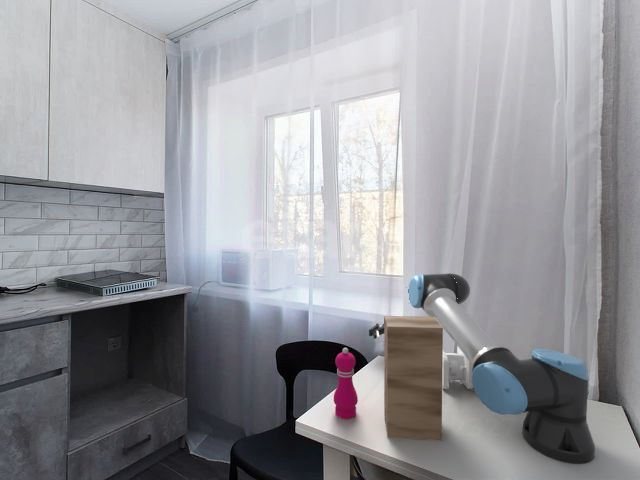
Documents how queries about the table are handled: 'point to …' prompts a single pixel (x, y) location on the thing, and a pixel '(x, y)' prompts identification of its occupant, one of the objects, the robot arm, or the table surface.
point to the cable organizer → (456, 369)
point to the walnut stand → (413, 377)
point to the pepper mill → (345, 386)
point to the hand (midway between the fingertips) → (396, 340)
